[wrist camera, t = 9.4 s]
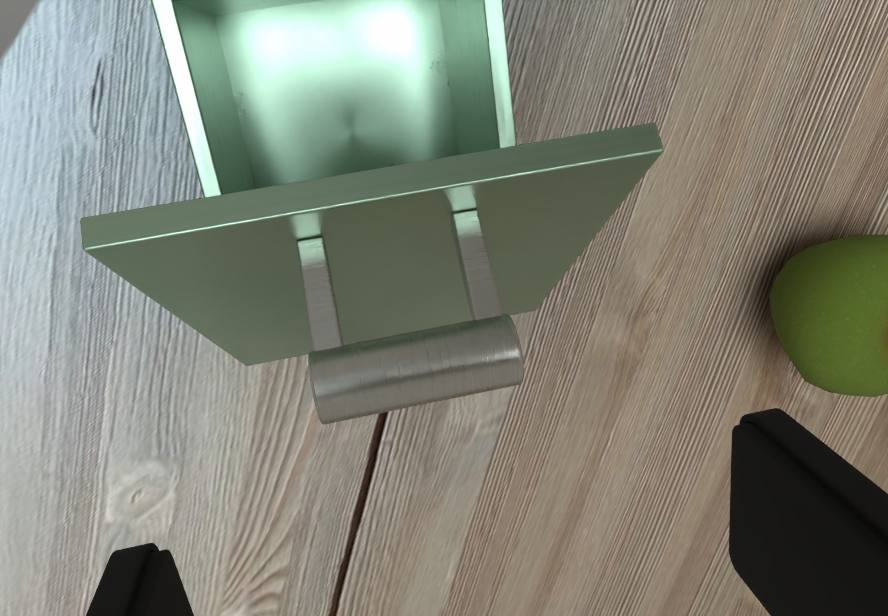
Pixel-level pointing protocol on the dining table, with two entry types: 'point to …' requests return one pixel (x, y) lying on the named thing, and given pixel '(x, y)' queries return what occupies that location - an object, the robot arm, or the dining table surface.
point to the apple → (836, 314)
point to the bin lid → (382, 264)
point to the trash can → (334, 85)
